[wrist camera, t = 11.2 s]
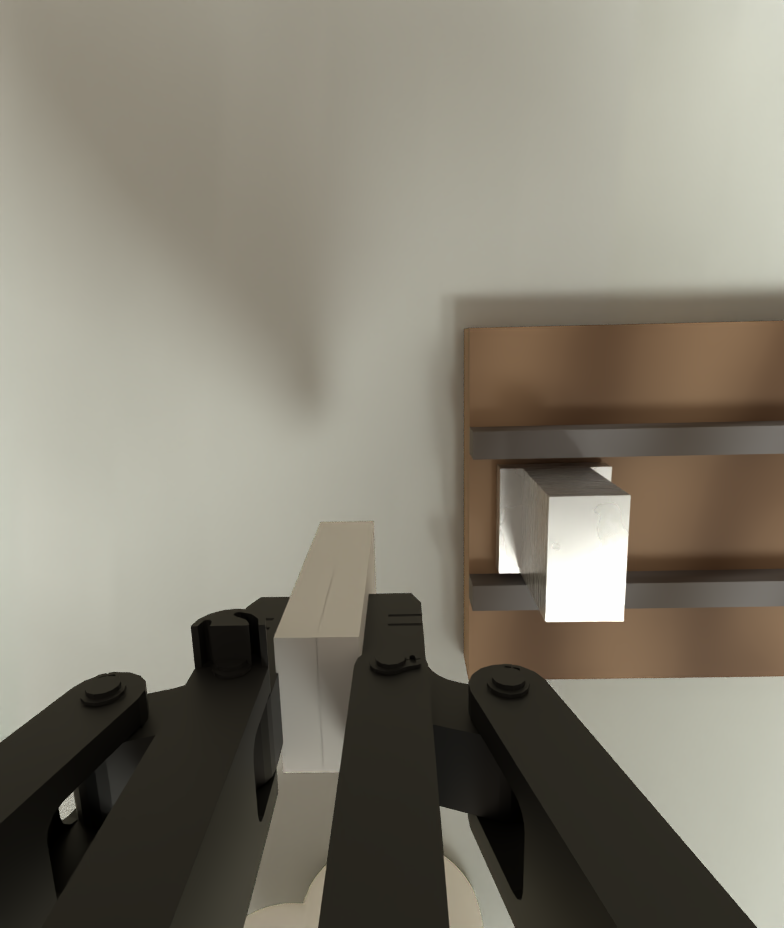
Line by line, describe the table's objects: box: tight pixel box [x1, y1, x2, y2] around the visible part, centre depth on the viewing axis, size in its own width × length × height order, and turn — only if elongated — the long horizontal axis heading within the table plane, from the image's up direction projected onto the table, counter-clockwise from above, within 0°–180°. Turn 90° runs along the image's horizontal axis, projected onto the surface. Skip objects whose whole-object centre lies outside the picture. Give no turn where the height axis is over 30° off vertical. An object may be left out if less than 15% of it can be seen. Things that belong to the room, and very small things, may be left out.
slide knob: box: [496, 462, 631, 622], centre depth 21 cm, size 4×4×5 cm
